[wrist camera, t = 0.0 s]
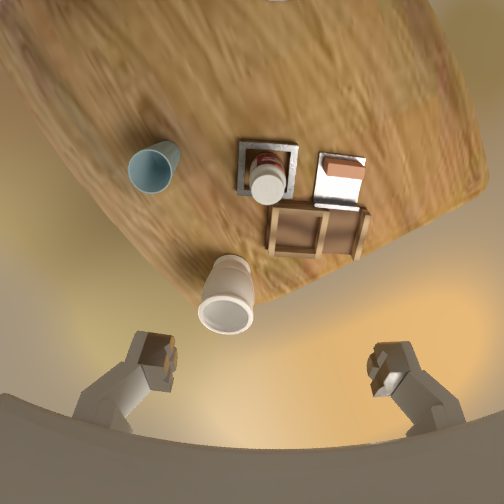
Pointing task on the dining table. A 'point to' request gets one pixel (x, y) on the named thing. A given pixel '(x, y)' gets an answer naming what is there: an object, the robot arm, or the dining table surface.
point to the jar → (228, 296)
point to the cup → (154, 167)
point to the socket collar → (267, 145)
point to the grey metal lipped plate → (336, 186)
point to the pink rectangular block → (344, 168)
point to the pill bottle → (267, 178)
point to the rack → (314, 230)
